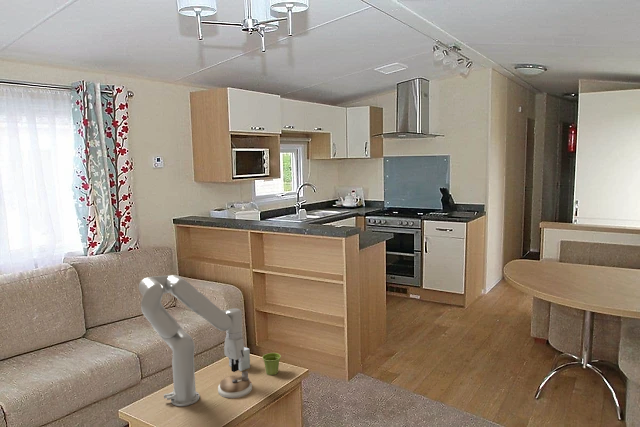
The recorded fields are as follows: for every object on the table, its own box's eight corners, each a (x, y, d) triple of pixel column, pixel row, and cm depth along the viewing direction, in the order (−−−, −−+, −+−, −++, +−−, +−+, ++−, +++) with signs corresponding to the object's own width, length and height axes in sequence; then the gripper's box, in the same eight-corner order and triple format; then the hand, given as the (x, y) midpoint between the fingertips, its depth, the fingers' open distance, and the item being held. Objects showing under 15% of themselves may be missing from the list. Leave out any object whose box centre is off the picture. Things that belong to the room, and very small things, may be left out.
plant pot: (285, 371, 241) (284, 355, 240) (273, 378, 233) (272, 362, 232) (271, 367, 246) (270, 351, 245) (259, 374, 238) (258, 357, 237)
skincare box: (250, 367, 247) (250, 348, 246) (241, 371, 242) (240, 352, 241) (238, 362, 254) (237, 343, 252) (228, 366, 249) (227, 347, 248)
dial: (223, 394, 214) (222, 384, 213) (217, 381, 226) (216, 371, 226) (253, 388, 219) (252, 377, 218) (245, 375, 232) (245, 365, 231)
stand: (221, 400, 213) (220, 396, 212) (215, 385, 228) (215, 381, 227) (255, 393, 218) (255, 389, 218) (248, 379, 233) (247, 374, 233)
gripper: (218, 333, 228) (219, 369, 230) (238, 340, 218) (239, 377, 220) (230, 329, 234) (231, 364, 235) (250, 335, 224) (251, 372, 226)
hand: (235, 370), depth 228 cm, fingers closed
